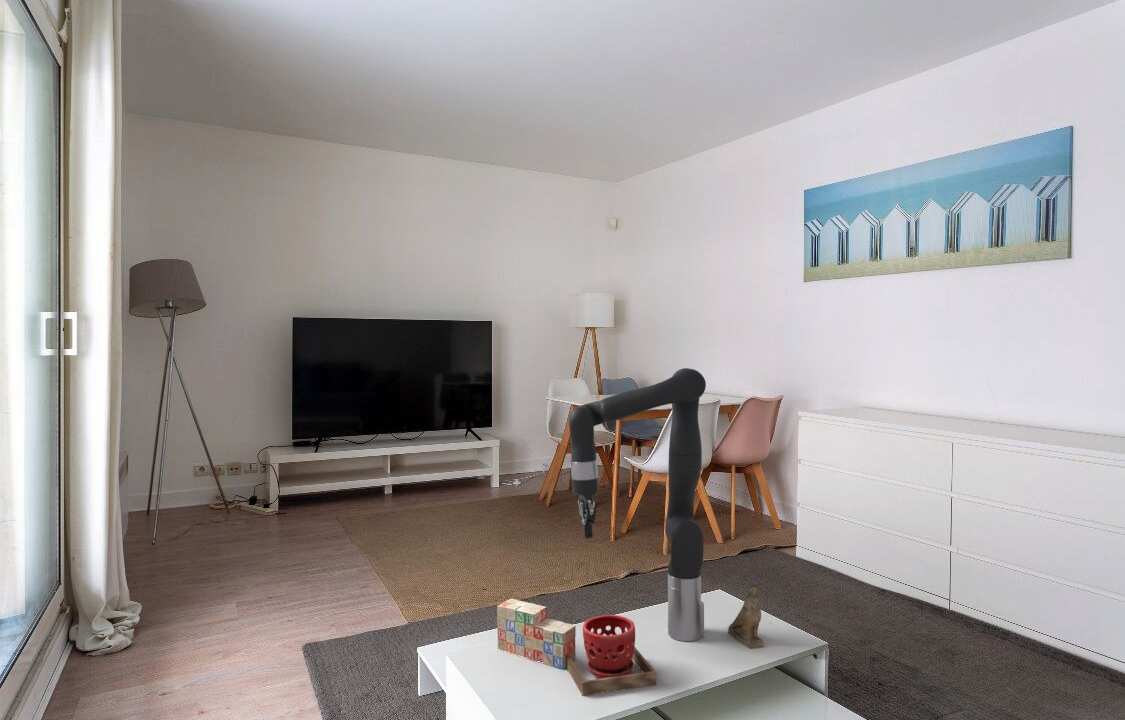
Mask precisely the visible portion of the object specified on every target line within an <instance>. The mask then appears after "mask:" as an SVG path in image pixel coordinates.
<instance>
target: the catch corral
mask: <svg viewBox="0 0 1125 720" xmlns="http://www.w3.org/2000/svg"><path fill="white" fill-rule="evenodd" d="M632 660H633V662H634V661H635V662H634V664H636V666H637V667H638V666H639V667H640V668H639V667H638V668H639V669H640V671H643V672H638V673H632V674H631V673H630V674H629V675H622V676H615V677H608V678H596V679H595V678H594V679H588V680H585V679H584V677H583V675H582V673H581V672H580V671H579V669H578V667H577V666H576V664H575V663H574V662H575V661H574V662H573V661H572V659H571V657H570V656H569V655H568V656H566V668H565V669H566V670H567V671H568V673H569V675H570V677H571V678H572V680H573V682H574V683H575V685H576V687H577V689H578V690H579V692H580V693H581V696H582V697H583V696H584V697H585V696H590V695H595V694H596V693H598V694H602V692H604V693H608V692H607V691H611V692H614V691H613V690H618V691H623V690H622V689H625V690H630V689H629V688H631V689H638V688H643V687H650V686H657V671H656V670H655V669H654V668H653V666H652V665H651V664H650V663H649V662H648V661H647V659H646V658H645V657H644V656H643V654H641V652H640V651H639V650H638V649H637V647H636V646H634V654H633V657H632ZM637 687H638V688H637Z"/></svg>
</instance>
